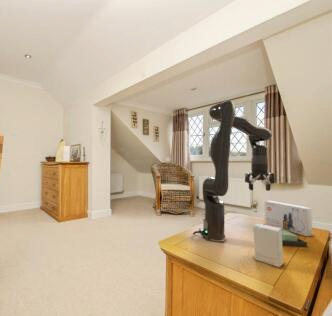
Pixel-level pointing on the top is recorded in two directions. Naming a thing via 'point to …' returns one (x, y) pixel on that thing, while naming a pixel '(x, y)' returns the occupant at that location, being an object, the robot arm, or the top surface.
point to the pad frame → (295, 243)
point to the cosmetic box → (268, 244)
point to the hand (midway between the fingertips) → (259, 190)
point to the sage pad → (288, 236)
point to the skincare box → (289, 217)
